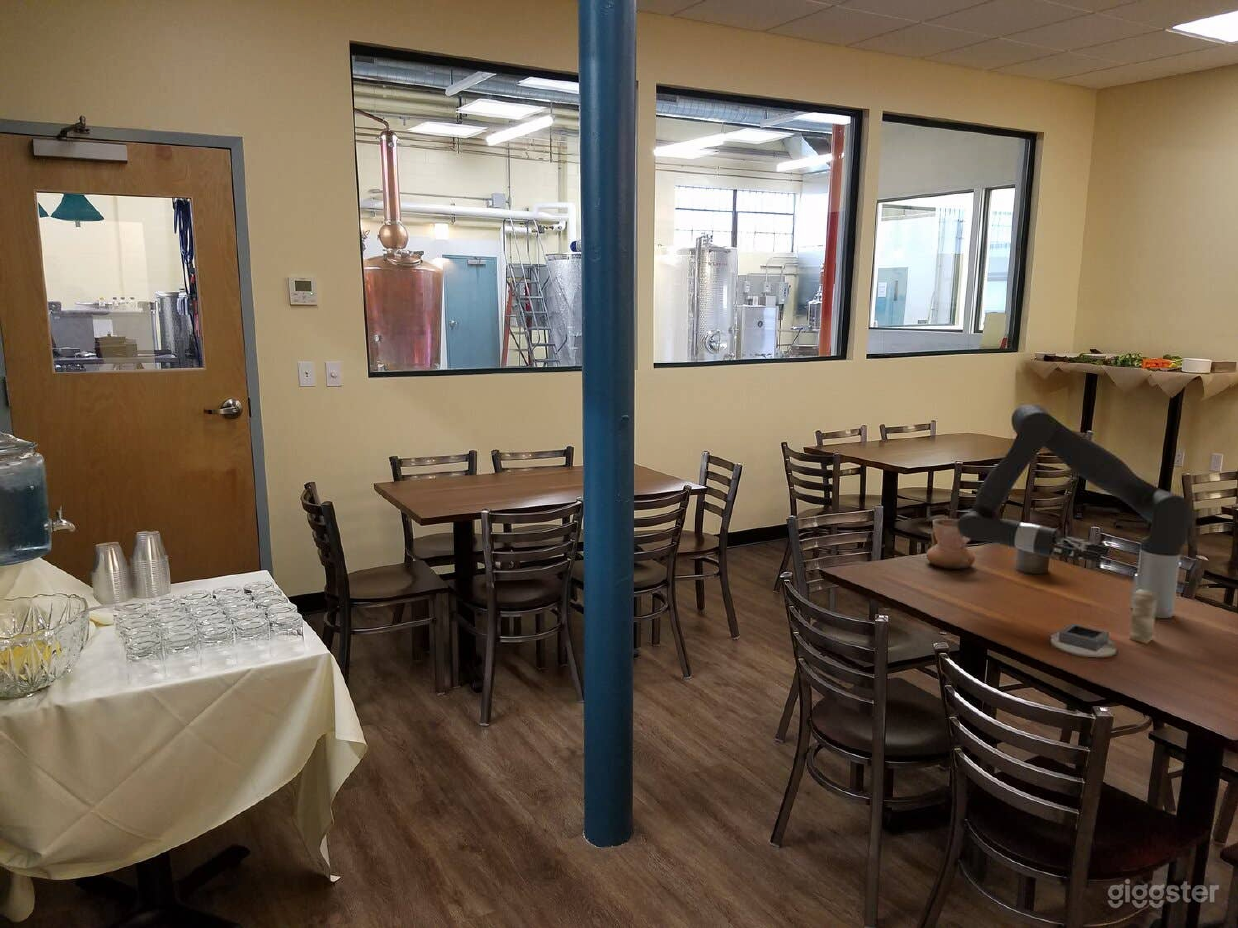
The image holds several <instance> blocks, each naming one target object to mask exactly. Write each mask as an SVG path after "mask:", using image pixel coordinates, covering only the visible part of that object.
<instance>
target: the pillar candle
mask: <svg viewBox="0 0 1238 928" xmlns="http://www.w3.org/2000/svg"><path fill="white" fill-rule="evenodd" d="M1015 548H1016V547H1015ZM1049 565H1050V557H1049V556H1044V555H1040V554H1036V553H1032V552H1028V551H1024V550H1021V549H1019V548H1016V550H1015V560H1014V569H1015V570H1016V571H1018V572H1021V573H1026V574H1034V575H1045V574H1048V573H1049Z"/></svg>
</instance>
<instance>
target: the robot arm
mask: <svg viewBox="0 0 1238 928" xmlns="http://www.w3.org/2000/svg"><path fill="white" fill-rule="evenodd" d="M1011 426H1012V429H1013V431H1014V432H1015V433H1016V436H1015V438H1014V441H1013V443H1012V445H1011V447H1010V449H1009V450H1008V452H1007V454H1005V456H1004V457H1003V458H1002V459H1001V460H1000V461H999V463H998V464H996V465H995V466H994V468H992V469H991V471H990V472H989V473H988V474H987V476H986V477H985V478H984V480H983V482H982V484H981V486H980V488H979V489H978V490H977V493H976V495H975V502H974V504H973V506H972V508H971V509H970V511H969V512H967V513H964V514H962V515H961V516H960V517H959V518H958V519H957V520H958V522H957V528H958V531H959V532H960V533H961V534H962V535H963V536H964V537H967V538H969V539H970V540H974V541H981V542H987V543H996V544H1001V545H1004V546H1008V547H1013V548H1019V549H1021V550H1024V551H1028V552H1032V553H1036V554H1040V555H1044V556H1049V558H1052V557H1054V556H1060V557H1063V558H1068V559H1071V560H1075V561H1076V560H1077V561H1078V559H1079V560H1088V561H1092V562H1095V563H1099V562H1100V561H1101V559H1102V556H1109V553H1110V547H1107V546H1104V545H1100V544H1095V543H1094V542H1093V540H1090V539H1085V538H1082V537H1081V538H1079V537H1074V536H1072V535H1068V536H1067V537H1063V538H1062V537H1061V531H1060V530H1059V529H1057V528H1053V527H1049V526H1044V525H1041V524H1037V523H1031V522H1022V521H1020V520H1019V521H1018V520H1014V519H1009V518H996V517H997V516H998V514H999V510H1000V508H1001V507H1002V506H1003V504H1004V503H1005V501H1006V499H1007V498H1008V496H1009V494H1010V492H1011V491H1012V489H1013V487H1014V486H1015V484H1016V483H1017V482H1018V479H1019V478H1020V476H1021V475H1022V473H1023V472H1024V471H1025V470H1026V469H1027V468H1028V465H1029V464H1030V463H1031V462H1032V461H1033V459H1034V458H1035V457H1036V456H1037V454H1039V452H1040V451H1041V450H1042V449H1043V448H1045V449H1046V450H1048V451H1049V452H1051V453H1052V454H1054V455H1055V457H1057V458H1058V459H1059V460H1060V461H1061V462H1062V463H1063V464H1065V466H1067V467H1068V468H1069V469H1070V470H1072V471H1073V472H1074V473H1075V474H1077V475H1078V476H1079V477H1081V478H1083V479H1084V480H1086V481H1087V482H1089V483H1090V484H1091V485H1094V486H1095V487H1096V488H1099V489H1100V490H1103V492H1105V493H1108V494H1110V495H1112V496H1114V497H1116V498H1118V499H1120V500H1121V501H1123V502H1125V504H1126V505H1128V506H1129V507H1130V508H1132V509H1133V510H1134V511H1135V512H1136V513H1138V514H1139V515H1140V516H1141V517H1142V518H1144V519H1145V520H1146V521H1148V522H1150V523H1151V527H1150V530H1149V531H1150V532H1149V535H1147V536H1145V537H1143V538H1141V541H1140V546H1139V547H1140V550H1139V557H1138V567H1137V573H1135V574H1134V575H1133V583H1132V591H1131V592H1132V593H1131V599H1130V608H1131V609H1133V603H1134V595H1135V592H1136V591H1138V590H1139V589H1141V590H1146V591H1151V592H1156V593H1158V596H1157V604H1156V613H1155V618H1156V619H1168V618H1172V617H1173V616H1174V610H1175V609H1174V608H1175V603H1176V602H1175V601H1176V594H1177V585H1178V578H1179V571H1180V562H1181V561H1180V560H1181V553H1182V549H1183V547H1184V545H1185V544H1186V542H1187V537H1188V532H1189V526H1190V522H1191V521H1190V520H1191V508H1190V504H1189V502H1188V501H1187V500H1186V499H1185V498H1184V497H1182V496H1181V495H1177V494H1175V493H1173V492H1170V491H1167V490H1164V489H1162V488H1160V487H1157V486H1155V485H1153V484H1151V483H1149V482H1147V481H1146V480H1144V479H1142V478H1141V477H1139V476H1138V475H1136V474H1135V472H1134V471H1132V469H1131V468H1130V467H1129V466H1128V465H1127V464H1126V463H1125V462H1124V461H1123V460H1122V459H1120V458H1119V457H1117V456H1116V455H1115V454H1113V453H1112V452H1111V451H1108V450H1107V449H1106V448H1104V447H1102V446H1100V444H1097V443H1095V442H1093V441H1092V440H1090V439H1089V438H1087V437H1084V436H1082V435H1081V434H1079V433H1076V432H1075V431H1073V430H1072V429H1070V428H1068V427H1067V426H1065V425H1064V424H1062V423H1061V422H1059V421H1058V420H1057V419H1056V418H1055V417H1054V416H1053V415H1051V414H1050V413H1049V412H1048V411H1047V410H1046V409H1045V408H1044V407H1042V406H1040V405H1037V404H1032V403H1031V404H1024V405H1021V406H1019V407H1017V408H1016V409H1015V410H1014V411H1013V413H1012V416H1011Z"/></svg>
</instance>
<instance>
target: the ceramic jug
mask: <svg viewBox="0 0 1238 928" xmlns="http://www.w3.org/2000/svg"><path fill="white" fill-rule="evenodd" d="M958 520H959V519H953V518H938V519H933V521H932V527H933V530H931V531H932V532H931V541H932V547H930V548H929V549H928V550H927V551H926V555H925V556H926V559H927V560H928V561H929V562H930V563H931V564H933V565H934V566H936V567H940V568H944V569H948V570H960V569H966V568H969V567H971V566H972V565H973V564H974V563H975V561H976V557H975V555H974V553H973V551H971V550H969V548H967V547H966V544H967V543H968V542H970V541H971V539H969V538H967V537H964V536H963V535H962V534H961V533H960V532H959V531H958V528H957V522H958Z"/></svg>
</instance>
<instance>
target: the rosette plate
mask: <svg viewBox="0 0 1238 928" xmlns="http://www.w3.org/2000/svg"><path fill="white" fill-rule="evenodd" d="M1109 634H1110V632H1109V631H1105V630H1100V629H1096V628H1093V627H1089V626H1084V625H1080V624H1076V623H1071V624H1069V625H1067V626H1065V627H1064V628H1063V629H1062V630H1059V631H1057V632H1055V633H1053V634H1052V635H1051V636H1050V644H1051V645H1052V646H1053V647H1054V648H1056V649H1057V648H1058V649H1057V650H1059V651H1061V652H1064V653H1067V654H1069V653H1070V655H1073V656H1077V657H1084V658H1089V657H1097V658H1096V659H1099V658H1098V657H1101V658H1100V659H1103V658H1102V657H1108V658H1111V657H1114V656H1115V655H1116V654H1117V645H1116V644H1115V643H1114V642H1113V641H1111V640H1110V639H1109V636H1110V635H1109ZM1113 655H1114V656H1113Z"/></svg>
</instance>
